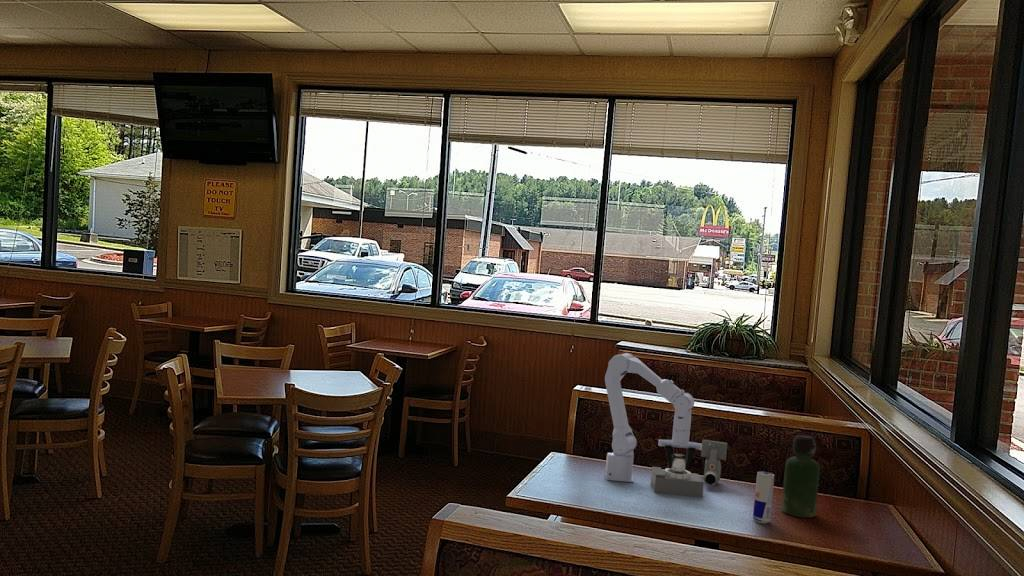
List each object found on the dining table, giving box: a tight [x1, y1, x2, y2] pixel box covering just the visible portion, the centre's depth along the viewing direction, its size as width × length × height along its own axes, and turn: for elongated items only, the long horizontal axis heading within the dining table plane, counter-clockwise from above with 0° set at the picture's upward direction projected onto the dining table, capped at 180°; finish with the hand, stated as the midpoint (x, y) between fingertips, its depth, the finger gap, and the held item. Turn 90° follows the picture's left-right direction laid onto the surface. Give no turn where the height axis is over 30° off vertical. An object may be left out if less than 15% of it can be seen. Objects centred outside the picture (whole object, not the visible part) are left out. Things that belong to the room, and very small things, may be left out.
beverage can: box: [752, 471, 775, 524], centre depth 248 cm, size 5×5×15 cm
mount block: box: [650, 466, 705, 498], centre depth 276 cm, size 16×11×6 cm
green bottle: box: [780, 434, 821, 519], centre depth 260 cm, size 10×10×25 cm
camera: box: [700, 439, 728, 487], centre depth 287 cm, size 9×12×15 cm
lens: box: [670, 453, 687, 474], centre depth 276 cm, size 5×5×7 cm
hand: (677, 468), depth 276 cm, fingers open, 5 cm apart
